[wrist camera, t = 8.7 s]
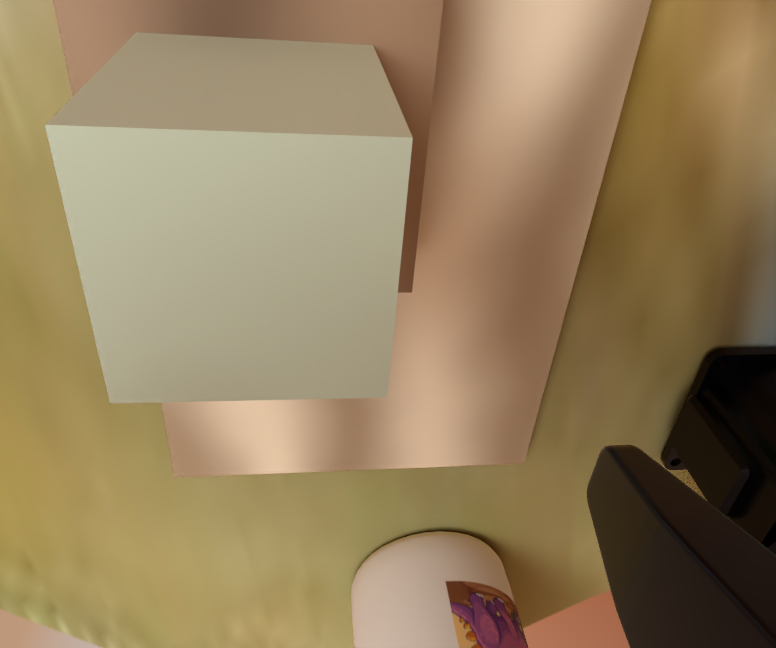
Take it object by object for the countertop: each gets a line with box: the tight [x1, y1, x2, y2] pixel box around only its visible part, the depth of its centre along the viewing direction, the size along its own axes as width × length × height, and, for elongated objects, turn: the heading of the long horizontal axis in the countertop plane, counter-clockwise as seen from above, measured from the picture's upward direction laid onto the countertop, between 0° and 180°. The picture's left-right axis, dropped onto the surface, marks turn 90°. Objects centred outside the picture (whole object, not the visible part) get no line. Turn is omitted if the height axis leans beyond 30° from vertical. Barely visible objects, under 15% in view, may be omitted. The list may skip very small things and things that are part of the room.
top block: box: [45, 32, 413, 404], centre depth 13 cm, size 5×5×6 cm
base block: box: [53, 0, 443, 293], centre depth 16 cm, size 8×8×2 cm
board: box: [161, 0, 652, 477], centre depth 20 cm, size 14×22×1 cm, turn 176°
